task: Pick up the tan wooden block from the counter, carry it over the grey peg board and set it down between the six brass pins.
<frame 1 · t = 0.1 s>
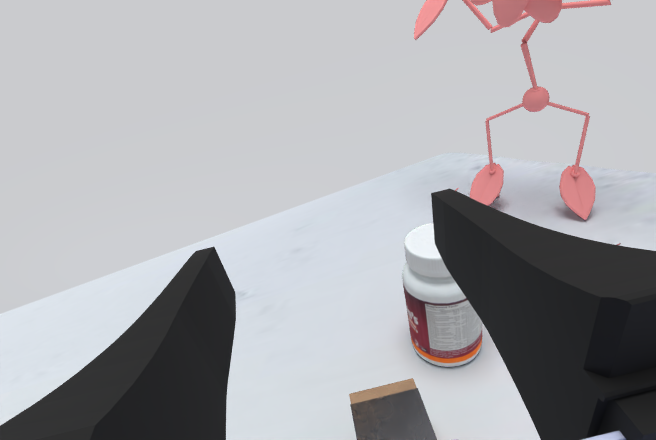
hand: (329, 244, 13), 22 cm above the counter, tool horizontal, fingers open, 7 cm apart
figurine: (524, 224, 48), on the counter
pill bottle: (446, 343, 35), on the counter
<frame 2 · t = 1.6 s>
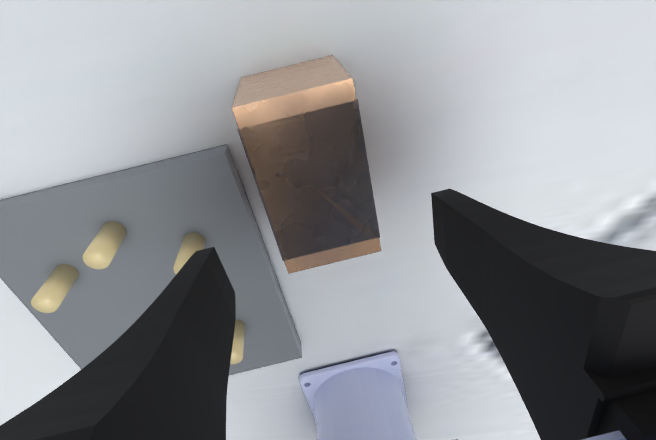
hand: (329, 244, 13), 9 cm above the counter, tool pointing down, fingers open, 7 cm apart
tan wooden block: (306, 143, 21), on the counter
grey peg board: (162, 288, 24), on the counter
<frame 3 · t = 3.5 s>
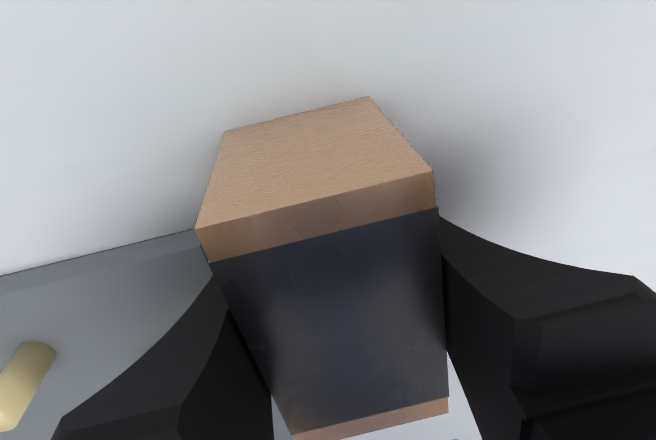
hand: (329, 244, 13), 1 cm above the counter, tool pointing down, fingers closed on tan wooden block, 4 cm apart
tan wooden block: (323, 221, 14), on the counter, touching gripper
grey peg board: (121, 405, 17), on the counter
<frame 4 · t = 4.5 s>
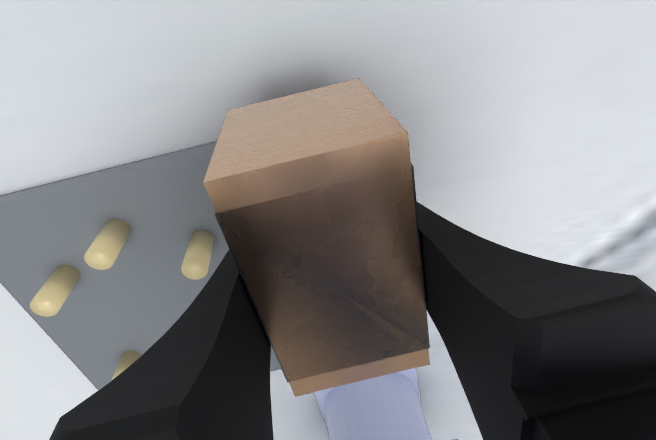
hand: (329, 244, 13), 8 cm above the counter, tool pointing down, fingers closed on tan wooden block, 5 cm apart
tan wooden block: (318, 196, 15), point 5 cm above the counter, touching gripper
grey peg board: (168, 289, 23), on the counter
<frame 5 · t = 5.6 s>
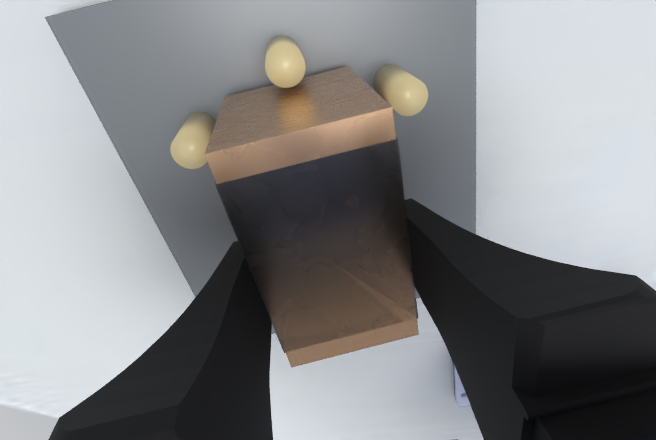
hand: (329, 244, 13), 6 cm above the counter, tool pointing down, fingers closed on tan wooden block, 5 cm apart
tan wooden block: (312, 180, 16), point 2 cm above the counter, touching gripper
grey peg board: (313, 173, 17), on the counter
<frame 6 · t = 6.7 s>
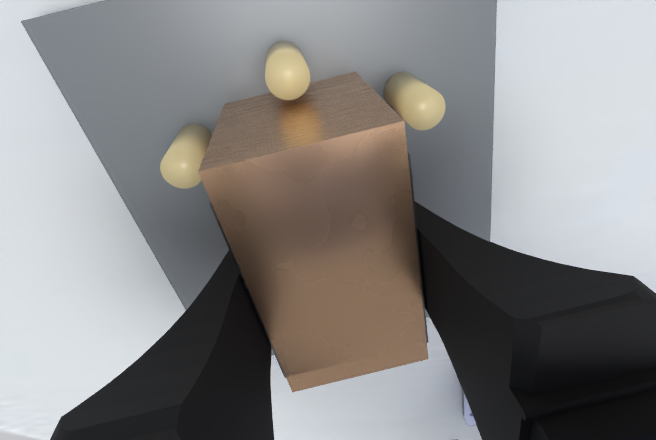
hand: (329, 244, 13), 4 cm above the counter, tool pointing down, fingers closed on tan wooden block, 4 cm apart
tan wooden block: (316, 191, 15), point 1 cm above the counter, touching gripper, grey peg board
grey peg board: (316, 187, 16), on the counter
when the fingers open (4 cm above the counter, at t = 6.7 s): tan wooden block stays where it is, resting on grey peg board.
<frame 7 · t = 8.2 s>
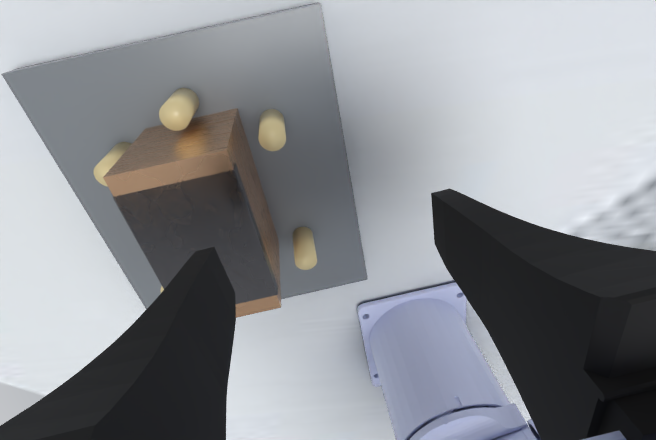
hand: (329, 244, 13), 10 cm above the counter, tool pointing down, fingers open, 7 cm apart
tan wooden block: (219, 190, 21), point 1 cm above the counter, touching grey peg board
grey peg board: (225, 188, 22), on the counter
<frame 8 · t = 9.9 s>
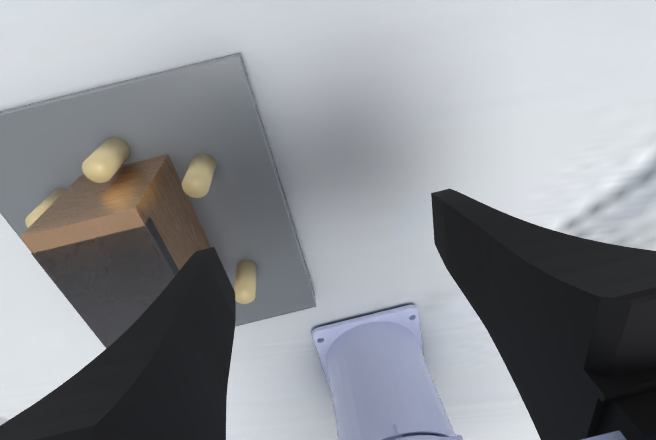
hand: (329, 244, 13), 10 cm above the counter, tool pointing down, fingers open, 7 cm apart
tan wooden block: (159, 229, 21), point 1 cm above the counter, touching grey peg board
grey peg board: (168, 224, 23), on the counter
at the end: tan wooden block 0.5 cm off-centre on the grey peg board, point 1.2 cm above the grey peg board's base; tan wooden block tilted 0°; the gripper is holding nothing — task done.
